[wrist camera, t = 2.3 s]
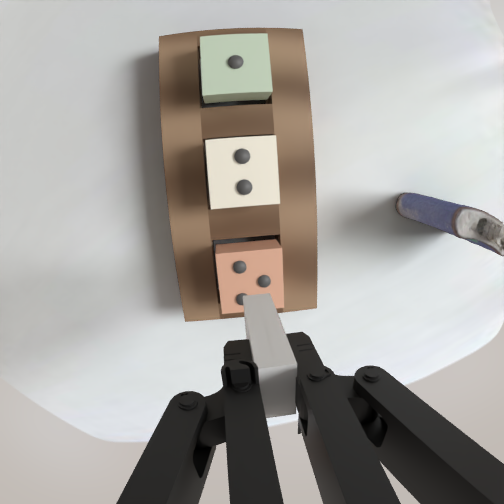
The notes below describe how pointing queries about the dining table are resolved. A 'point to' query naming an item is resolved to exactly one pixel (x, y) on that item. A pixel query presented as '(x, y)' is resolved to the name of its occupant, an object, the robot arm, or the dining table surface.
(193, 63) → the board
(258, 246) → the three-pip tile
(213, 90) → the tile
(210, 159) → the tile
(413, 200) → the flask
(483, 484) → the robot arm
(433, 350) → the dining table surface
